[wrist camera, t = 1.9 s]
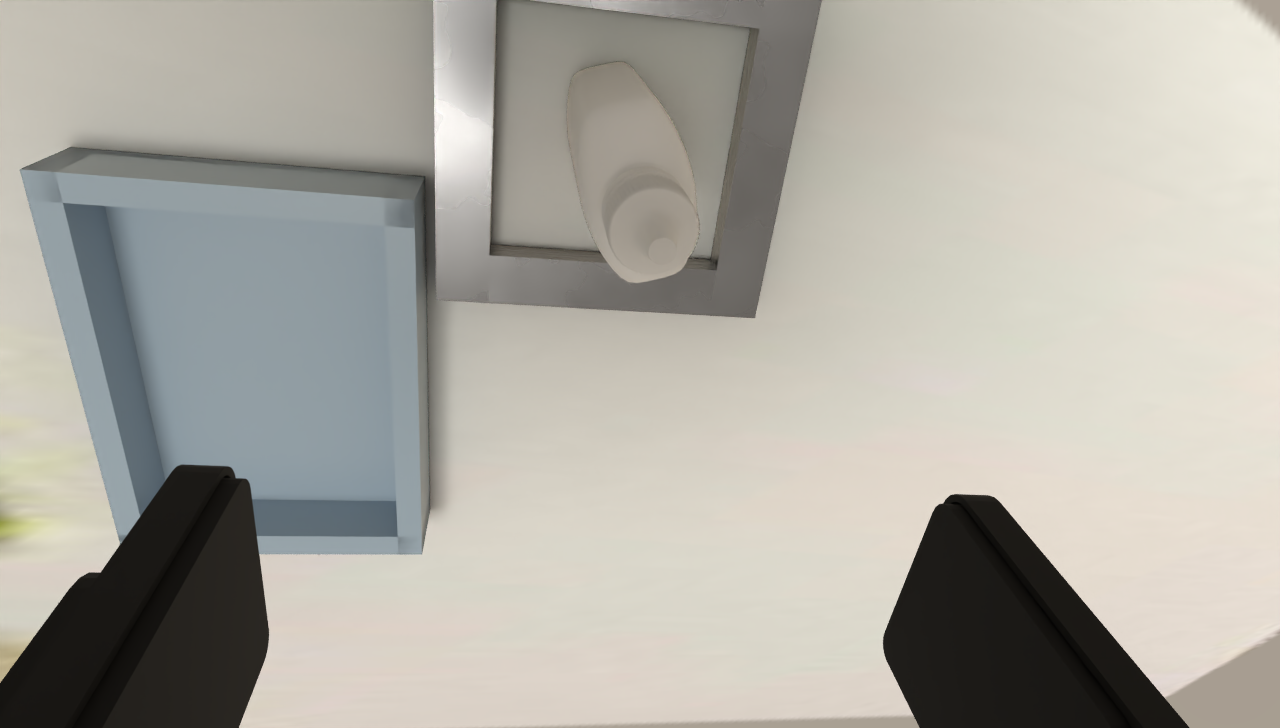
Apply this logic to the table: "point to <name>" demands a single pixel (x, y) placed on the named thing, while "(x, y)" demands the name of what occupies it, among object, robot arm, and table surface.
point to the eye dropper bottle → (631, 173)
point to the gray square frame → (480, 272)
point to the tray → (248, 336)
